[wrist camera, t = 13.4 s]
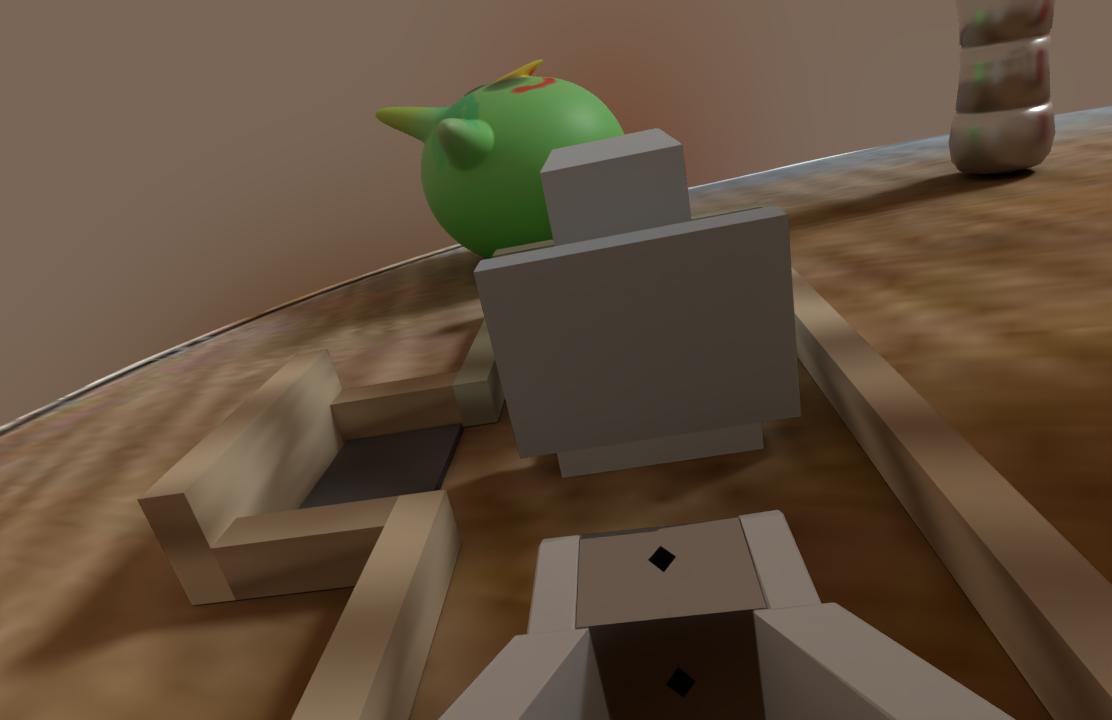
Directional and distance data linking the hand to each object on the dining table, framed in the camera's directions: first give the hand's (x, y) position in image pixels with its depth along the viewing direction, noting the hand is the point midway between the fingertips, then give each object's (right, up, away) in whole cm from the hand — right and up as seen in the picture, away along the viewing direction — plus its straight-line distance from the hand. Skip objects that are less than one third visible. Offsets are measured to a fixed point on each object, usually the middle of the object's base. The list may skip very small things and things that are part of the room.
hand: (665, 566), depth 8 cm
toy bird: (-3, +11, +47) cm, 48 cm away
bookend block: (+3, +2, +23) cm, 23 cm away
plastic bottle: (+32, +17, +42) cm, 56 cm away
